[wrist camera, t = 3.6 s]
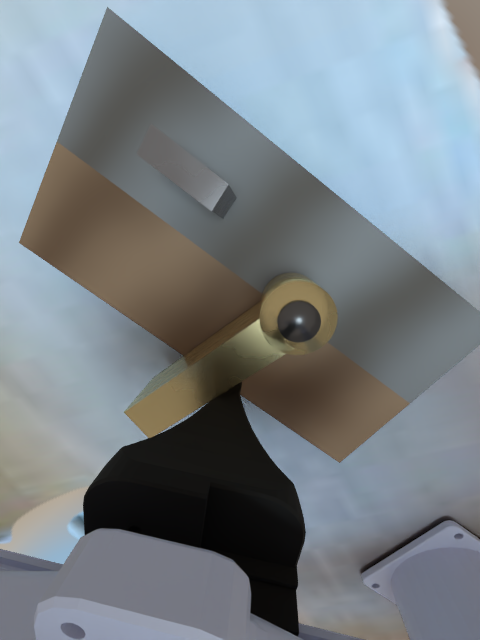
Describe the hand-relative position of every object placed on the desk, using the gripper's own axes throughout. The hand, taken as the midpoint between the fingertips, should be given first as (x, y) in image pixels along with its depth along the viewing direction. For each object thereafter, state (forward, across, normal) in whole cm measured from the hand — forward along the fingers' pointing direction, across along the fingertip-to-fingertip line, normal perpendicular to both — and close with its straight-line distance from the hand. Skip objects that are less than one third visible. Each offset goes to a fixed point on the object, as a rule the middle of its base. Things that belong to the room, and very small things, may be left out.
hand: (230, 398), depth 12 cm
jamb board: (+2, 0, -6) cm, 6 cm away
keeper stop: (+1, +3, -9) cm, 10 cm away
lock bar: (+1, 0, -3) cm, 3 cm away
